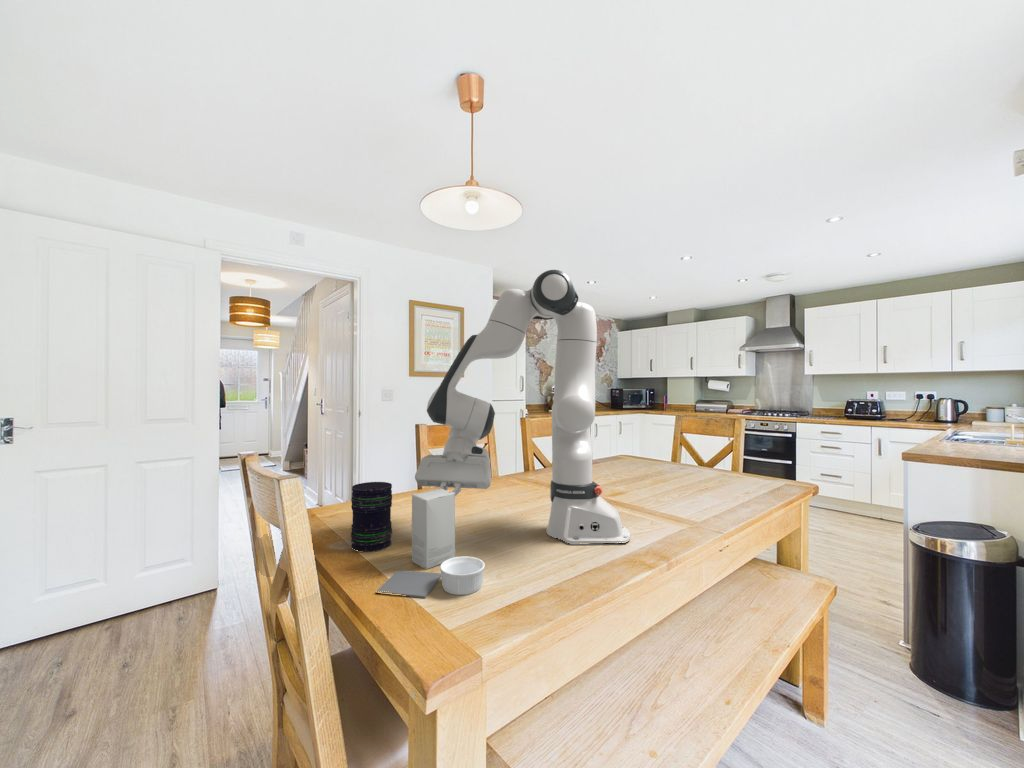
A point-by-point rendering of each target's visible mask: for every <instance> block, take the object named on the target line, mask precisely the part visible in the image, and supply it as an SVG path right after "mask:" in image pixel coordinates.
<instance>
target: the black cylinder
mask: <svg viewBox="0 0 1024 768" xmlns="http://www.w3.org/2000/svg"><path fill="white" fill-rule="evenodd" d="M392 488H393V485H392V483H391V482H385V481H369V482H361V483H356V484H354V485H352V486H351V491H352V492H351V499H350V500H351V507H350V508H351V510H352V524H351V531H350V538H351V539H350V540H351V541H350V542H351V545H350V548H351V547H352V548H353V549H355V550H358V551H363V552H362V553H372V552H373V551H374V552H378V550H379V551H382V549H383V550H385V549H387V548H389V547H390V546H391V545H392V539H391V538H392V533H393V528H392V520H391V519H392V518H391V516H392V515H391V513H392V511H391V509H392V507H393V506H392V504H393V502H392V500H393V494H392V493H393V491H392ZM352 548H351V549H352Z"/></svg>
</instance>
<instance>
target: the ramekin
mask: <svg viewBox="0 0 1024 768" xmlns="http://www.w3.org/2000/svg"><path fill="white" fill-rule="evenodd" d="M485 565H486V564H485V562H484V560H482V559H480V558H478V557H475V556H467V555H465V556H455V557H454V558H450V559H448V560H446V561H444V562H443V563H442V564H440V565H439V571H440V573H441V575H442V577H441V585H442V589H443V590H444V591H445V592H446V593H447V594H450V595H454V596H467V595H470V594H474V593H476V592H478V591H479V590H480V589H481V588H482V586H483V582H484V571H485Z"/></svg>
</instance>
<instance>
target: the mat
mask: <svg viewBox="0 0 1024 768" xmlns="http://www.w3.org/2000/svg"><path fill="white" fill-rule="evenodd" d="M441 579H442V575H441V572H425V571H415V570H414V571H412V570H401V569H399V570H396V572H395V573H393V574H392V575H391V576H390V577H389V578H388V579H387V580H386V581H385V582H384V583H383V584H382V585H381V586H380V587H379V588H378V589H377V590H376V591H377V592H378V591H379V592H380V591H381V592H382V591H383V592H382V593H392V594H401V595H406V596H410V597H409V598H419V599H426V598H427V596H428V595H429V594H430V592H431V591H432V590H433V589H434V587H435V586H436V585H437V583H438V582H439V581H440V580H441ZM384 591H385V592H384ZM386 591H387V592H386ZM388 591H389V592H388Z"/></svg>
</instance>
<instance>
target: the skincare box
mask: <svg viewBox="0 0 1024 768" xmlns="http://www.w3.org/2000/svg"><path fill="white" fill-rule="evenodd" d="M454 557H456V496H455V493H454V492H452V491H450V490H448V489H447V490H444V489H441V488H437V489H431V490H427V491H422V492H418V493H413V494H411V562H412V563H414V564H416V565H418V566H420V567H421V568H423V569H425V570H429V569H431V568H435V567H437V566H440V565H441V564H442V563H443V562H444V561H446V560H448V559H450V558H454Z"/></svg>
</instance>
